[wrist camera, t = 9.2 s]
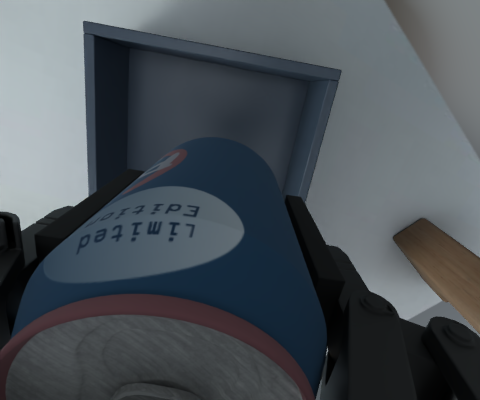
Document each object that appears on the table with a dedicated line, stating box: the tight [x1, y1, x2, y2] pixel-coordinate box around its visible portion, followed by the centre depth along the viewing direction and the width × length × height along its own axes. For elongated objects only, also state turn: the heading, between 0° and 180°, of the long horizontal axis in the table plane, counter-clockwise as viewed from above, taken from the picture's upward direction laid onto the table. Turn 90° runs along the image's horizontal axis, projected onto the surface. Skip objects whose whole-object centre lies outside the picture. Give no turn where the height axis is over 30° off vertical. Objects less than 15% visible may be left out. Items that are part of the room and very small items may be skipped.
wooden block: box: [393, 218, 480, 334], centre depth 28 cm, size 9×4×18 cm, turn 41°
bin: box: [83, 21, 342, 203], centre depth 30 cm, size 28×20×8 cm
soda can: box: [0, 137, 327, 400], centre depth 10 cm, size 7×7×12 cm
